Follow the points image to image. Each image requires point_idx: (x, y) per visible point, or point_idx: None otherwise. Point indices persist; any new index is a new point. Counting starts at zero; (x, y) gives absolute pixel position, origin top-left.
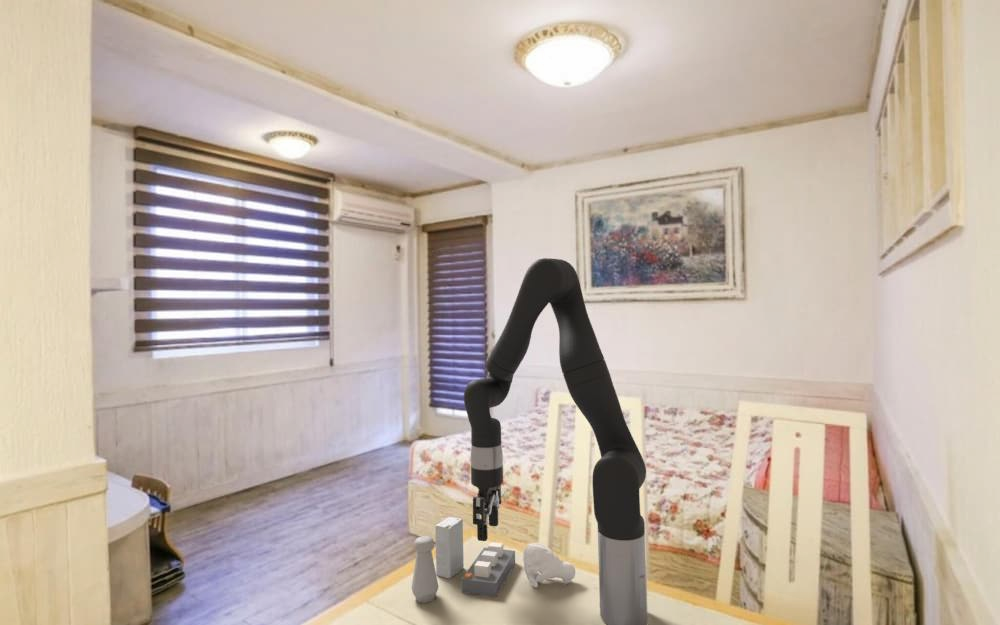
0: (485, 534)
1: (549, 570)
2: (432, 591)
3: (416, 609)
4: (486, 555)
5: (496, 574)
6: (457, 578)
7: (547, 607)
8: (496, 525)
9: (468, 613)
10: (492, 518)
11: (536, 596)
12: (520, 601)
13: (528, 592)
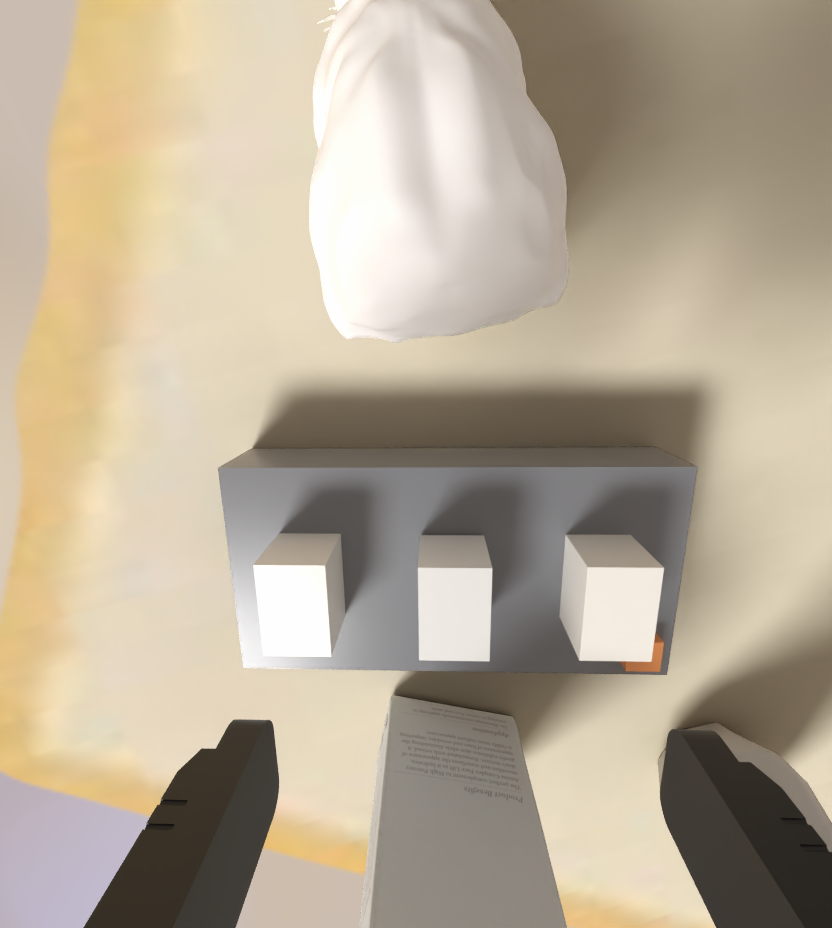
0: (760, 805)
1: (522, 76)
2: (788, 765)
3: (802, 759)
4: (490, 626)
5: (580, 496)
6: (500, 686)
7: (735, 101)
8: (268, 729)
9: (826, 537)
10: (240, 851)
11: (613, 211)
12: (682, 297)
13: (574, 275)
